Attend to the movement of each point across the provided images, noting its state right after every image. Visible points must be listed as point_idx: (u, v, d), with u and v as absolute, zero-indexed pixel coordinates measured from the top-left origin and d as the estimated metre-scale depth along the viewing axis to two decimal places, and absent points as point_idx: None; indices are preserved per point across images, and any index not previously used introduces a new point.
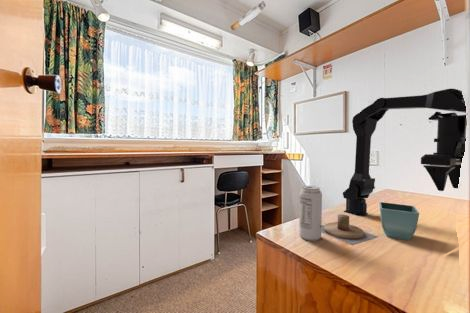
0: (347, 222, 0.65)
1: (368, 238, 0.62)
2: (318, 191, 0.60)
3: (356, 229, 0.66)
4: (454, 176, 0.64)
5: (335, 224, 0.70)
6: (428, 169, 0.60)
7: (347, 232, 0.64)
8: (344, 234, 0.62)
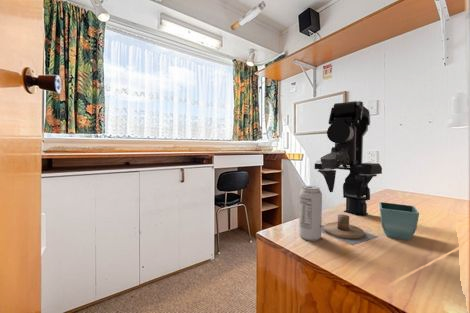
0: (347, 222, 0.65)
1: (368, 238, 0.62)
2: (318, 191, 0.60)
3: (356, 229, 0.66)
4: None
5: (335, 224, 0.70)
6: None
7: (347, 232, 0.64)
8: (344, 234, 0.62)
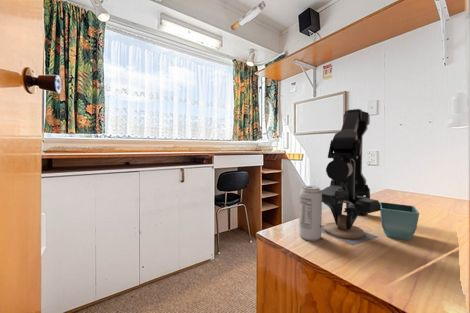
0: None
1: (368, 238, 0.62)
2: (318, 191, 0.60)
3: (356, 229, 0.66)
4: None
5: (335, 224, 0.70)
6: None
7: (347, 232, 0.64)
8: (344, 234, 0.62)
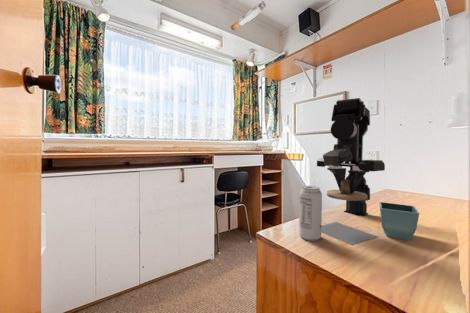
0: None
1: (368, 238, 0.62)
2: (318, 191, 0.60)
3: (359, 193, 0.66)
4: None
5: (338, 190, 0.70)
6: None
7: (350, 195, 0.63)
8: (348, 196, 0.62)
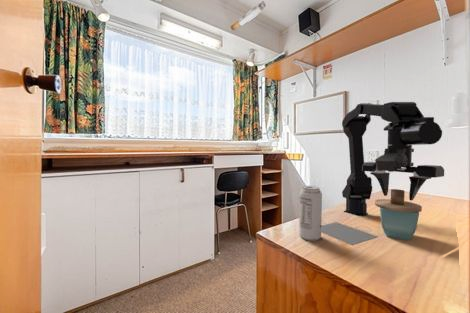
0: (403, 196, 0.62)
1: (368, 238, 0.62)
2: (318, 191, 0.60)
3: (411, 204, 0.63)
4: None
5: (386, 200, 0.68)
6: None
7: (404, 206, 0.61)
8: (403, 207, 0.59)
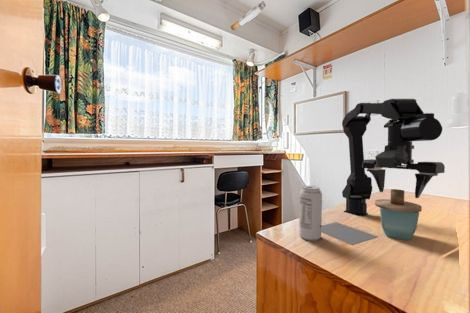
0: (403, 196, 0.62)
1: (368, 238, 0.62)
2: (318, 191, 0.60)
3: (411, 204, 0.63)
4: None
5: (385, 200, 0.68)
6: None
7: (404, 206, 0.61)
8: (403, 207, 0.59)
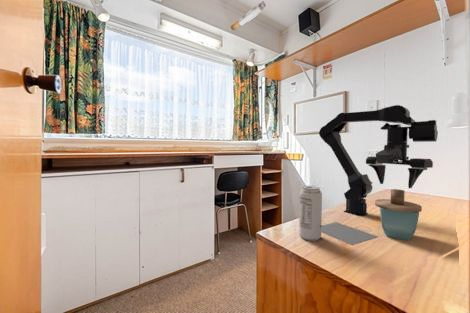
0: (403, 196, 0.62)
1: (368, 238, 0.62)
2: (318, 191, 0.60)
3: (411, 204, 0.63)
4: None
5: (385, 200, 0.68)
6: None
7: (404, 206, 0.61)
8: (403, 207, 0.59)
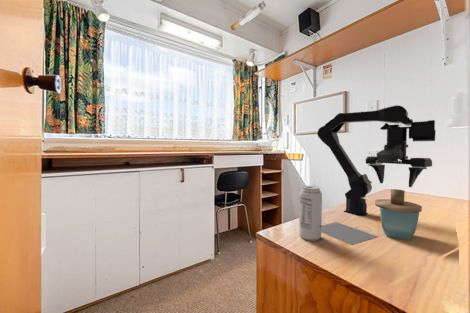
0: (403, 196, 0.62)
1: (368, 238, 0.62)
2: (318, 191, 0.60)
3: (411, 204, 0.63)
4: None
5: (385, 200, 0.68)
6: None
7: (404, 206, 0.61)
8: (403, 207, 0.59)
